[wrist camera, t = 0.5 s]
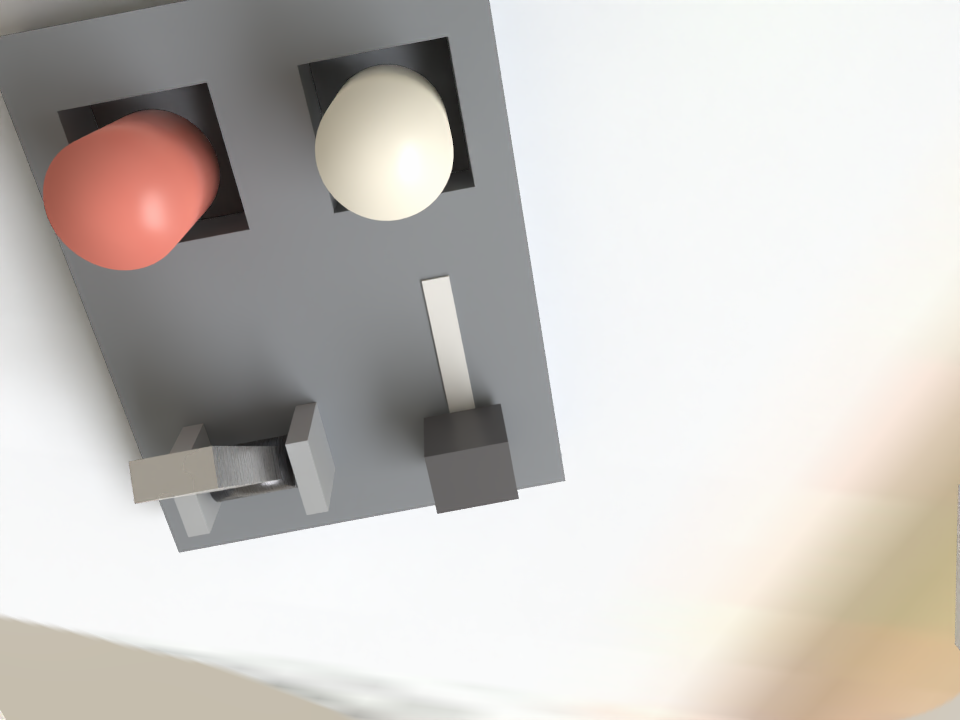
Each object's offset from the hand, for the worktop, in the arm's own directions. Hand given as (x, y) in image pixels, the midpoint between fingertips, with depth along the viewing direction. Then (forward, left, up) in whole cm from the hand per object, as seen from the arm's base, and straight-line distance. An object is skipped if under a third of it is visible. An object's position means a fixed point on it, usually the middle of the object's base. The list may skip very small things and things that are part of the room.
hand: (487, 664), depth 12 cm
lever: (+7, -9, -20) cm, 23 cm away
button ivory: (-4, -1, -22) cm, 22 cm away
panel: (+1, -5, -24) cm, 25 cm away
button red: (-4, -9, -22) cm, 24 cm away
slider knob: (+8, -1, -21) cm, 22 cm away
